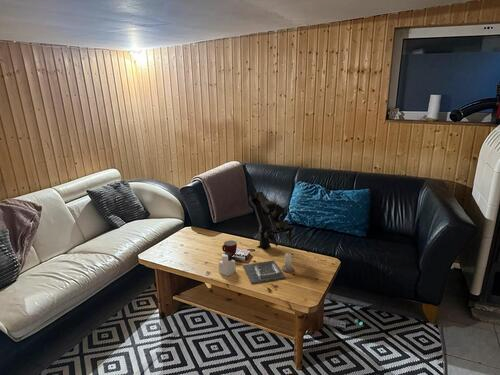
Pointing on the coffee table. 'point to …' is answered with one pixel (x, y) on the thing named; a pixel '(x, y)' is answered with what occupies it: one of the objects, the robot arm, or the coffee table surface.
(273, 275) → the keeper board
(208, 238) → the coffee table surface
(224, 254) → the medicine bottle
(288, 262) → the beige flared base peg
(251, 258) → the coffee table surface
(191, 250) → the coffee table surface
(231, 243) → the mug
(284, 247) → the coffee table surface
